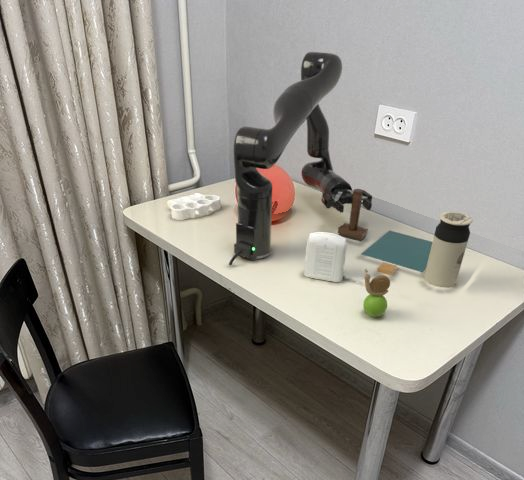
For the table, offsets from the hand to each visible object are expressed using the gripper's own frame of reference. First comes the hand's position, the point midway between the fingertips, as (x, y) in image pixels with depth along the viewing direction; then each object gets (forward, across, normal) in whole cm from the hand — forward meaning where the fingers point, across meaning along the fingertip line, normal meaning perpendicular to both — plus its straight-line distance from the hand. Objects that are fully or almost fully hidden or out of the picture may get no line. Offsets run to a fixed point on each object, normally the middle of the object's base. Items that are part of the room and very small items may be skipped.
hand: (356, 208), depth 143 cm
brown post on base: (0, 0, +10) cm, 10 cm away
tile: (+12, +11, +10) cm, 19 cm away
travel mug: (+30, +12, +10) cm, 33 cm away
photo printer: (+19, -16, +10) cm, 27 cm away
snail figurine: (+39, -12, +10) cm, 42 cm away
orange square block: (+22, 0, +10) cm, 24 cm away
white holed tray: (-33, -43, +10) cm, 55 cm away
